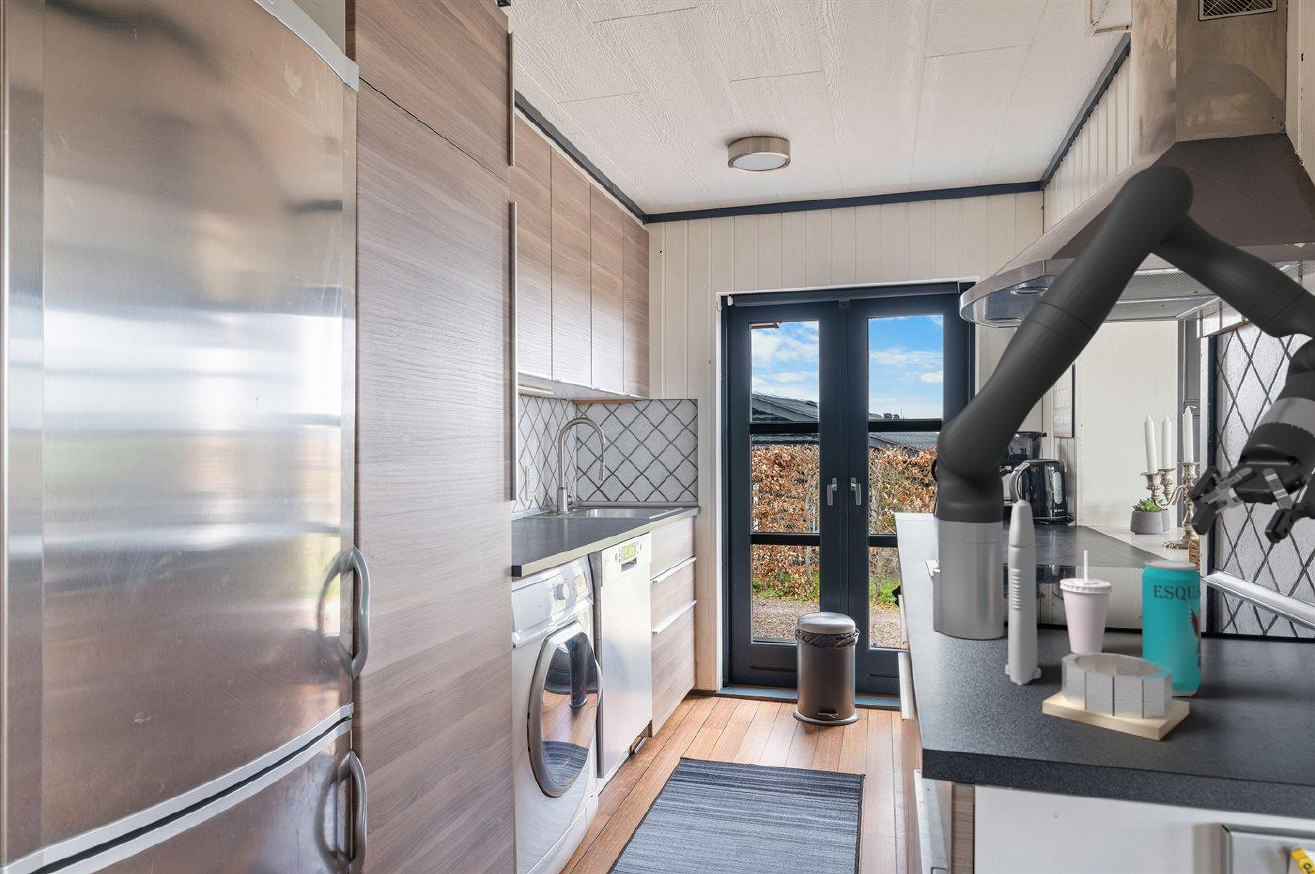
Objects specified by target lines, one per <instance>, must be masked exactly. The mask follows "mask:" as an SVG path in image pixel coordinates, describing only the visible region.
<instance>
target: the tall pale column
mask: <svg viewBox="0 0 1315 874" xmlns="http://www.w3.org/2000/svg"><path fill="white" fill-rule="evenodd" d="M1032 510H1033V509H1032V505H1031V503H1030V502H1028V501H1026V500H1025V499H1020V500H1018V501H1016V503H1014V504H1012V509H1011V516H1010V526H1009V531H1008V548H1007V549H1008V551H1007V555H1008V556H1007V558H1008V559H1007V563H1008V566H1007V567H1008V568H1007V569H1008V570H1007V571H1008V625H1007V626H1008V630H1007V631H1008V639H1007V641H1008V642H1007V644H1008V645H1007V646H1008V647H1007V648H1008V649H1007V661H1008V662H1007V664H1006V665H1005V666H1004V672H1005V673H1004V674H1006V675H1008V676H1009V677H1010V682H1011V683H1012V684H1014V685H1016V686H1025V685H1028V684H1029V683H1030V682H1032V681H1033V680H1034V679H1039V678H1041V677H1042V670H1041V668H1040V667H1038V629H1037V550H1036V533H1035V525H1034V519H1033V517H1034V516H1033V511H1032Z"/></svg>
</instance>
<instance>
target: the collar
mask: <svg viewBox="0 0 1315 874" xmlns="http://www.w3.org/2000/svg"><path fill="white" fill-rule="evenodd" d="M1061 691H1062V695H1063V697H1064V698H1065V700H1066V701H1067V702H1068V703H1071V704H1073V705H1075V706H1077V707H1080V708H1082V709H1084V710H1087V711H1092V712H1096V713H1101V714H1105V715H1109V716H1115V717H1125V718H1137V719H1142V718H1143V719H1148V718H1158V717H1164V716H1167V715H1168V714H1169V713H1170V712H1171V711H1172V699H1173V696H1172V672H1171V671H1170V670H1169V669H1168V668H1167V667H1166V666H1165V665H1162V664H1159V663H1156V662H1153V661H1150V660H1147V659H1143V657H1138V656H1131V655H1127V654H1126V655H1125V654H1120V653H1111V652H1101V653H1096V652H1092V653H1091V652H1086V653H1074V652H1073V653H1069V654H1067V655H1066V656H1064V657H1062V658H1061Z"/></svg>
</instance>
